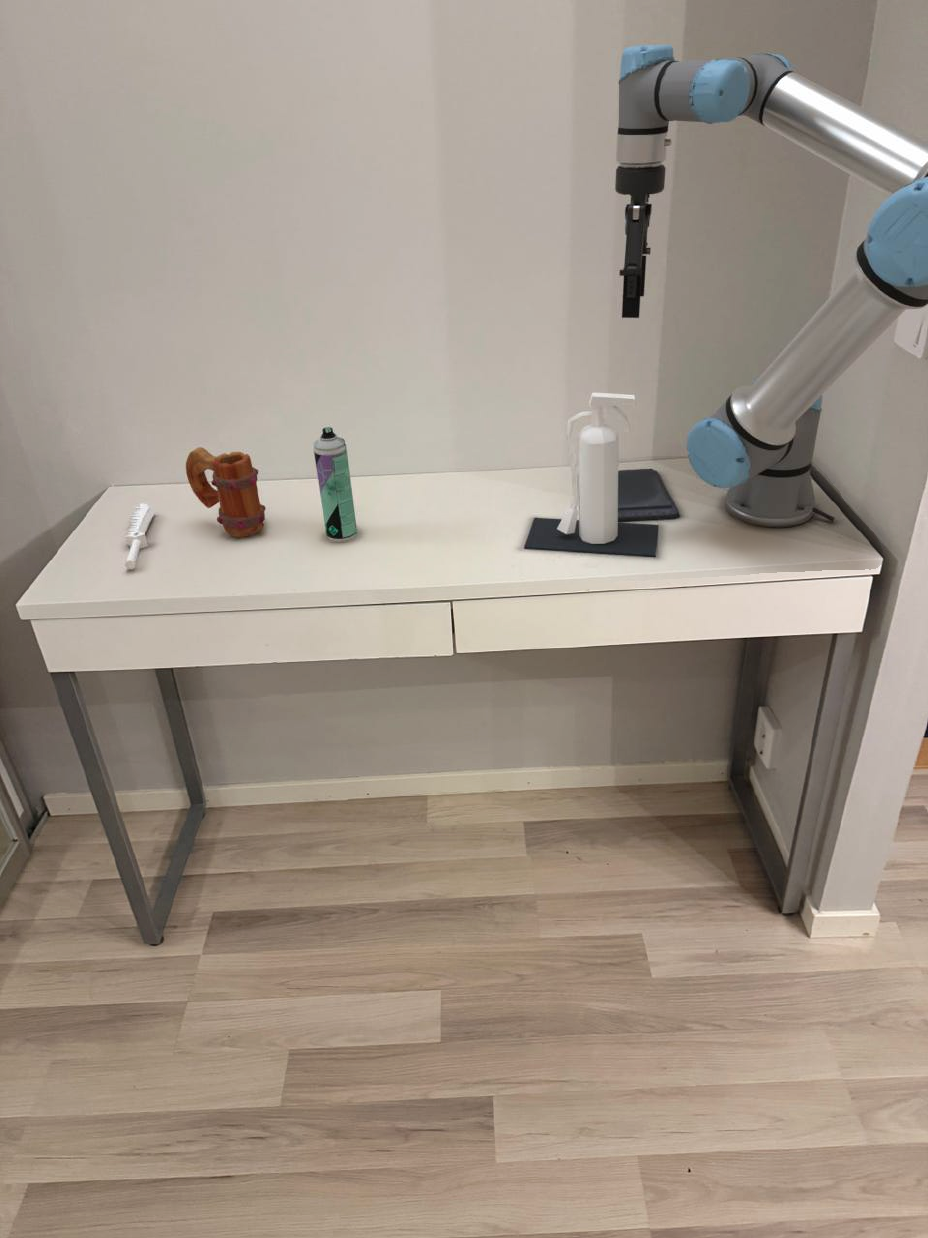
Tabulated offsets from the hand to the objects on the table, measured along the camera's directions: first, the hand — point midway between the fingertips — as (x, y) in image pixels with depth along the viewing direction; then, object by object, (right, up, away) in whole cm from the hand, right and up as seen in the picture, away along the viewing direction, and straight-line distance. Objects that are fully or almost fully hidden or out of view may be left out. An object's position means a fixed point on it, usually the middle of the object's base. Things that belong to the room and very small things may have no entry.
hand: (633, 306), depth 150 cm
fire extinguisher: (-6, -38, +6) cm, 39 cm away
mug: (-70, -36, +16) cm, 80 cm away
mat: (-6, -38, +6) cm, 39 cm away
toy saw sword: (-87, -38, +13) cm, 96 cm away
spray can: (-50, -37, +11) cm, 63 cm away
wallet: (+3, -29, +19) cm, 35 cm away
